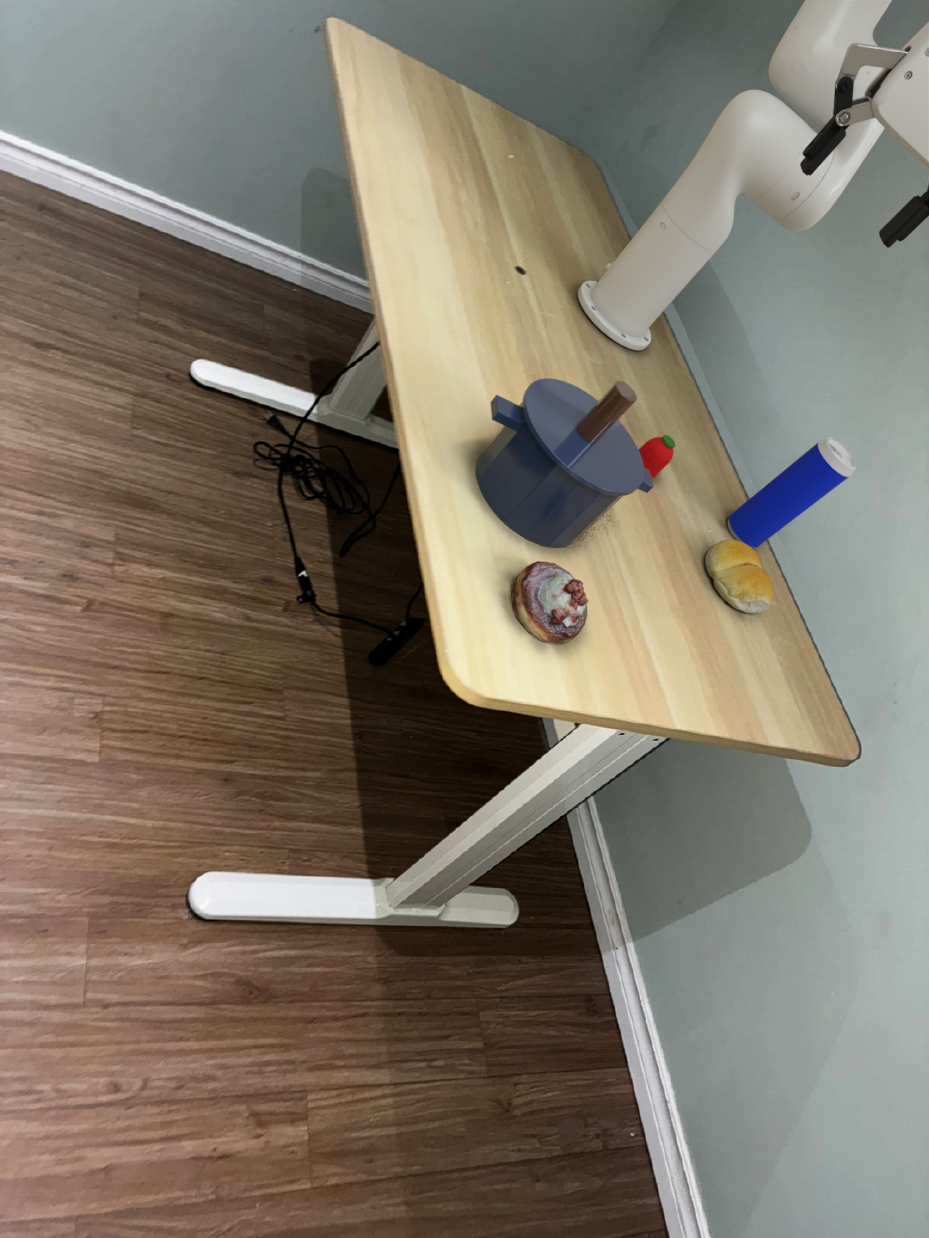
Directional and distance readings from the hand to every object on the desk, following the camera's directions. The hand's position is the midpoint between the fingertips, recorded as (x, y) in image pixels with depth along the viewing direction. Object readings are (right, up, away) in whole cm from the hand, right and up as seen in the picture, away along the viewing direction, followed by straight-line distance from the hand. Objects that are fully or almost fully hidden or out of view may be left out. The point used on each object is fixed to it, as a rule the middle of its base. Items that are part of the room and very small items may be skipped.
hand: (844, 206), depth 71 cm
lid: (-22, -20, +3) cm, 30 cm away
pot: (-27, -24, +9) cm, 37 cm away
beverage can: (+1, -26, +29) cm, 39 cm away
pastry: (-26, -35, +1) cm, 44 cm away
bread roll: (-3, -32, +21) cm, 39 cm away
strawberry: (-12, -18, +25) cm, 33 cm away
